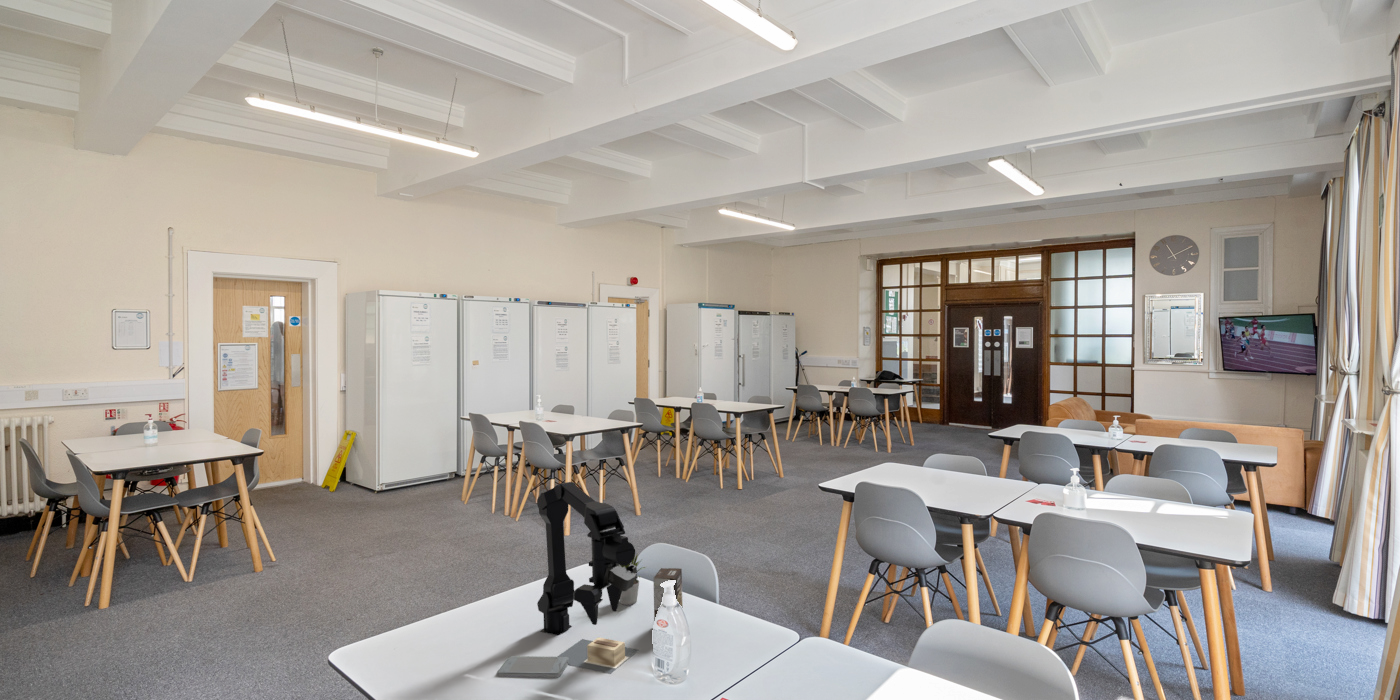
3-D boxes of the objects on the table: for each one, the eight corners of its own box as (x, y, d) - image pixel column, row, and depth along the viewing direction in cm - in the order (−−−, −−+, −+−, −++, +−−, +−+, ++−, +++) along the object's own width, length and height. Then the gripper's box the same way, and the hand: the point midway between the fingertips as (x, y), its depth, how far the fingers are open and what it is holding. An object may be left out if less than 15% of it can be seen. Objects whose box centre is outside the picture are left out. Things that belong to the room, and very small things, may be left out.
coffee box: (676, 637, 185) (675, 578, 185) (654, 636, 186) (652, 577, 186) (684, 624, 194) (682, 567, 194) (662, 622, 195) (660, 567, 195)
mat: (550, 663, 172) (550, 661, 172) (582, 640, 184) (582, 638, 184) (610, 675, 164) (610, 673, 164) (639, 651, 177) (639, 649, 177)
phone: (509, 660, 173) (509, 655, 173) (570, 661, 171) (569, 656, 171) (496, 677, 165) (496, 672, 165) (559, 678, 163) (559, 673, 163)
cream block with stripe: (625, 657, 172) (624, 641, 172) (614, 666, 168) (614, 649, 168) (598, 652, 176) (598, 636, 176) (587, 661, 171) (587, 644, 171)
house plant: (605, 593, 220) (603, 543, 219) (647, 590, 221) (646, 541, 221) (603, 610, 205) (602, 557, 205) (649, 607, 207) (647, 554, 207)
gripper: (610, 571, 160) (611, 637, 161) (648, 549, 177) (650, 608, 177) (571, 566, 165) (573, 630, 165) (612, 545, 182) (614, 603, 182)
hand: (604, 617), depth 172 cm, fingers open, 9 cm apart
